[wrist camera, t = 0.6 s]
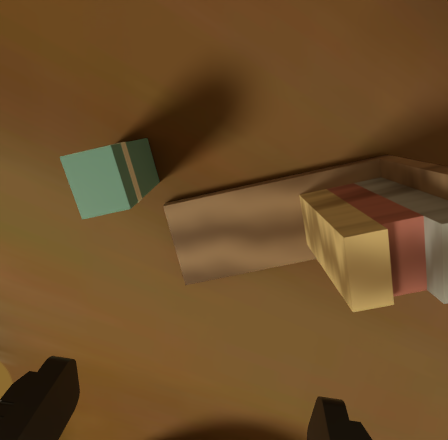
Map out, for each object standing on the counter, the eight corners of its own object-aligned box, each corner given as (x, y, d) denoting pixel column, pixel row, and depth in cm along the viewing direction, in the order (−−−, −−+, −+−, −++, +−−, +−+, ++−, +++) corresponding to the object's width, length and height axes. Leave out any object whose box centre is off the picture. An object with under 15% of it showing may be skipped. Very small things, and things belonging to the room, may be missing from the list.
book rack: (165, 203, 38) (116, 270, 20) (387, 154, 36) (536, 183, 19) (186, 279, 40) (159, 395, 23) (393, 237, 39) (528, 329, 22)
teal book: (111, 145, 36) (58, 156, 24) (147, 137, 36) (111, 144, 24) (125, 190, 37) (81, 220, 26) (160, 182, 37) (131, 209, 26)
